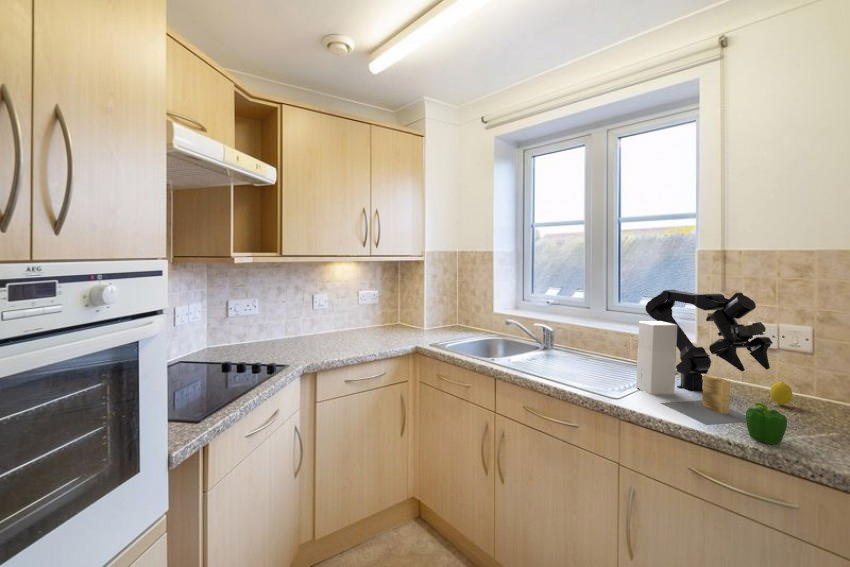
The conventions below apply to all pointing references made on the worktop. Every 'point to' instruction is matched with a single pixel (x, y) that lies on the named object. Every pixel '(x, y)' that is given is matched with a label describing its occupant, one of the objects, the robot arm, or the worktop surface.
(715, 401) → the ochre block
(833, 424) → the worktop surface
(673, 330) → the tall white carton
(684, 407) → the rubber mat
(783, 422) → the bell pepper
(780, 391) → the lemon
